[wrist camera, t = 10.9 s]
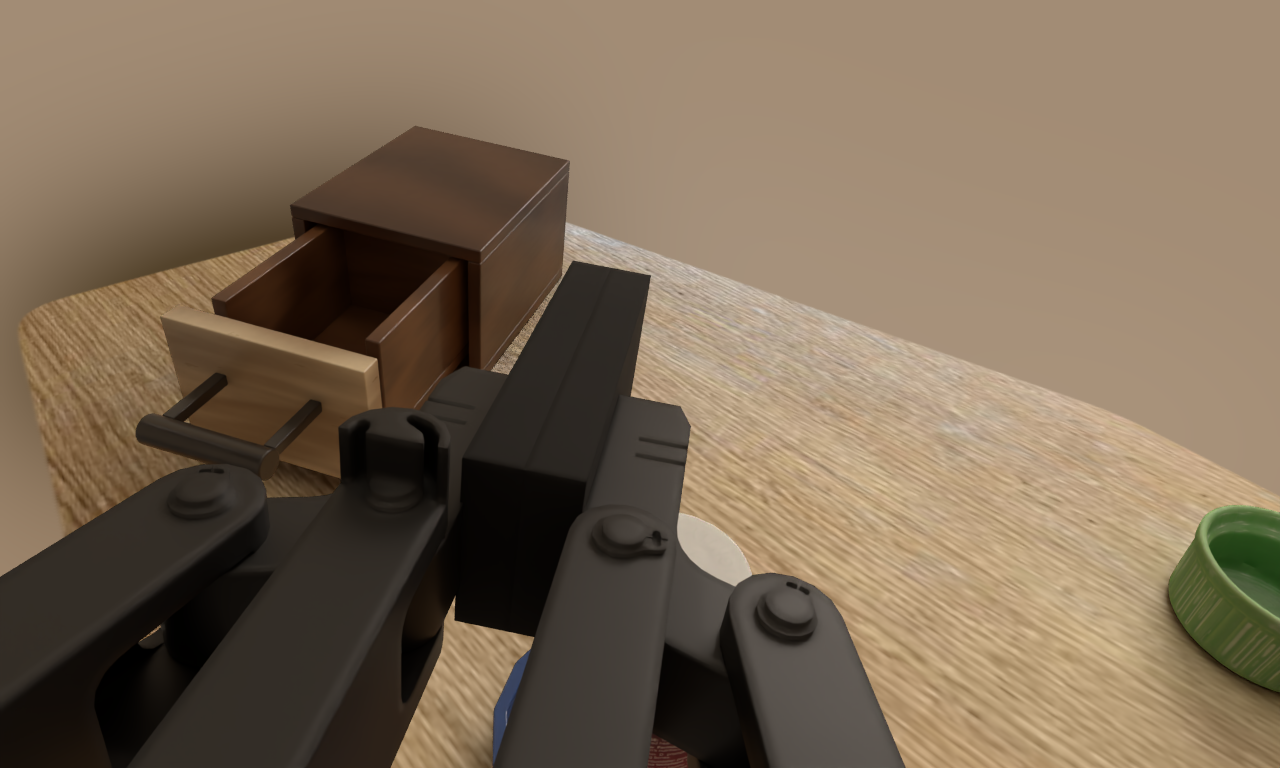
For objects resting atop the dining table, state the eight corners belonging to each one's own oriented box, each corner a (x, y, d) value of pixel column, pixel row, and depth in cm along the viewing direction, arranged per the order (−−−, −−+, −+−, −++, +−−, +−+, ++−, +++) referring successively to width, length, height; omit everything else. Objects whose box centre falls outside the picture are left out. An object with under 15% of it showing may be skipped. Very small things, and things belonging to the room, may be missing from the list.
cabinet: (480, 384, 49) (480, 251, 44) (309, 337, 51) (289, 204, 45) (562, 276, 61) (570, 160, 55) (420, 241, 62) (414, 125, 57)
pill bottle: (732, 731, 33) (797, 544, 26) (671, 877, 28) (733, 696, 21) (598, 664, 34) (626, 472, 28) (520, 791, 30) (532, 599, 23)
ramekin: (1236, 716, 36) (1295, 660, 34) (1119, 561, 44) (1160, 504, 41) (1399, 706, 38) (1467, 651, 35) (1260, 557, 45) (1309, 502, 42)
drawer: (319, 562, 36) (297, 440, 32) (119, 498, 38) (71, 374, 33) (488, 348, 51) (489, 244, 46) (339, 308, 52) (326, 204, 48)
